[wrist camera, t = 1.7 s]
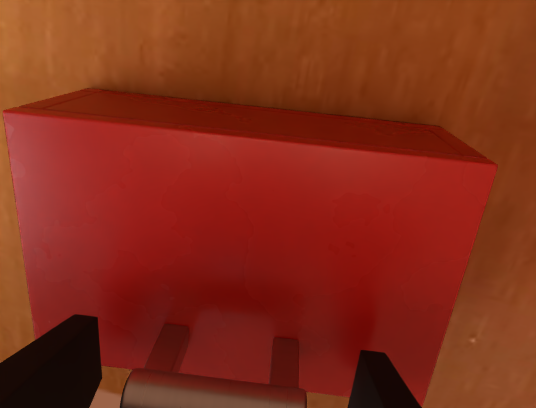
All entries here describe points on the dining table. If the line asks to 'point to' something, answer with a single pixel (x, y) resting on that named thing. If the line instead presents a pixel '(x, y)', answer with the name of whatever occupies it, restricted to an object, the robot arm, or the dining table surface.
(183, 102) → the red rectangular open box
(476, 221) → the red box lid
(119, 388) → the dining table surface
